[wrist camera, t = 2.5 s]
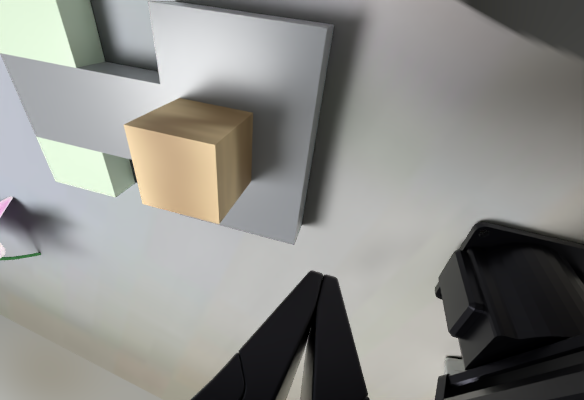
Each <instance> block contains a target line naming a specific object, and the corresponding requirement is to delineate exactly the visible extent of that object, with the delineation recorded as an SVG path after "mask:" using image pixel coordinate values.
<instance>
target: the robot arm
mask: <svg viewBox="0 0 584 400" xmlns="http://www.w3.org/2000/svg"><path fill="white" fill-rule="evenodd" d="M482 230H487V231H486V232H483V233H481V232H480V231H482ZM435 294H436V297H438V298H439V299H442V300H443V305H444V310H445V316H446V321H447V326H448V331H449V333H450V334H451V336H453V337H456V338H458V340H459V345H460V350H461V354H462V359H463V364H464V369H465V371H462V372H459V373H455V374H452V375H450V374H445V375H442V376H439V378H438V383H437V389H436V396H435V400H584V245H582V244H578V243H574V242H569V241H565V240H561V239H556V238H552V237H548V236H543V235H539V234H535V233H530V232H526V231H522V230H517V229H513V228H509V227H504V226H500V225H496V224H491V223H487V222H480V223H477V224H475V225H474V226H473V228H472V229H471V231H470V232H469V234H468V236H467V237H466V239H465V241H464V242H463V244H462V245H461V247H460V249H458V250H456V251H455V252H454V253H453V255H452V256H451V258H450V259H449V261H448V263H447V264H446V266H445V268H444V269H443V271H442V273H441V274H440V276H439V282H438V284H437V286H436V287H435ZM309 332H310V333H309ZM308 336H309V337H308ZM307 340H308V342H307ZM306 343H307V347H306V354H305V363H304V371H303V380H302V388H301V397H300V400H370V399H369V397H367V395H368V392H367V389H366V385H365V381H364V377H363V373H362V370H361V366H360V362H359V358H358V355H357V351H356V347H355V343H354V339H353V336H352V332H351V328H350V324H349V320H348V317H347V313H346V309H345V305H344V301H343V298H342V294H341V290H340V286H339V283H338V279H337V278H336V277H333V276H330V275H324V276H323V274H322V273H319V272H316V271H310V272H309V273H308V274H307V275H306V276H305V277H304V278H303V279H302V280H301V282H300V283H299V284H298V285H297V286H296V287H295V288H294V289H293V290H292V292H291V293H290V294H289V295H288V296H287V297H286V298H285V299H284V301H283V302H282V303H281V304H280V305H279V306H278V307H277V308H276V310H275V311H274V312H273V313H272V314H271V315H270V316H269V317H268V318H267V320H266V321H265V322H264V323H263V324H262V325H261V326H260V327H259V329H258V330H257V331H256V332H255V333H254V334H253V335H252V336H251V338H250V339H249V340H248V341H247V342H246V343H245V344H244V345H243V347H242V348H241V349H240V350H239V353H236V354H235V355H234V356H233V357H232V359H231V360H230V361H229V362H228V363H227V364H226V365H225V366H224V367H223V368H222V369H221V371H220V372H219V373H218V374H217V375H216V376H215V377H214V378H213V379H212V380H211V381H210V382H209V383H208V384H207V385H206V386H205V387H204V388H202V389H201V390H200V391H199V392H198V393H197V394H196V395H195V396H194V397H193V398H192V399H191V400H286V398H287V395H288V393H289V390H290V387H291V385H292V382H293V379H294V376H295V374H296V371H297V368H298V366H299V363H300V360H301V358H302V355H303V352H304V349H305V346H306Z"/></svg>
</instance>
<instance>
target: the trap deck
mask: <svg viewBox="0 0 584 400" xmlns="http://www.w3.org/2000/svg"><path fill="white" fill-rule="evenodd" d="M148 6H149V13H150V19H151V26H152V32H153V39H154V46H155V52H156V59H157V65H158V71H152V70H147V69H142V68H136V67H131V66H126V65H121V64H115V63H110V62H105V59H104V55H103V51H102V47H101V43H100V39H99V35H98V31H97V27H96V23H95V19H94V15H93V11H92V7H91V3H90V0H0V54H1V57H2V59H3V61H4V64H5V66H6V68H7V70H8V73H9V75H10V77H11V80H12V82H13V84H14V87H15V89H16V91H17V93H18V96H19V98H20V100H21V103H22V105H23V107H24V110H25V112H26V114H27V116H28V119H29V121H30V123H31V126H32V128H33V130H34V133H35V135H36V137H37V139H38V142H39V144H40V146H41V149H42V151H43V153H44V156H45V158H46V160H47V162H48V165H49V167H50V169H51V172H52V174H53V176H54V179H55V181H56V182H60V183H63V184H67V185H71V186H75V187H78V188H82V189H86V190H90V191H93V192H97V193H101V194H105V195H108V196H112V197H117V196H118V195H120V194H121V193H122V192H124V191H125V190H127V189H128V188H129V187H131V186H132V185H133V184H135V180H134V176H133V172H132V168H131V164H130V160H129V159H131V160H132V158H131V154H130V149H129V145H128V141H127V137H126V133H125V129H124V124H126V123H128V122H130V121H132V120H134V119H136V118H138V117H140V116H143V115H145V114H147V113H149V112H151V111H153V110H155V109H157V108H159V107H161V106H164V105H166V104H168V103H170V102H172V101H174V100H176V99H178V98H182V99H187V100H192V101H197V102H202V103H207V104H212V105H217V106H222V107H227V108H232V109H237V110H242V111H247V112H252V113H253V134H252V170H251V182H250V184H249V185H248V186H247V188H246V189H245V190H244V192H243V193H242V194H241V196H240V197H239V198H238V200H237V201H236V202H235V204H234V205H233V207H232V208H231V209H230V211H229V212H228V213H227V215H226V216H225V217H224V219H223V220H222V221H221V223H220V224H217V223H214V224H217V225H221V226H225V227H229V228H232V229H236V230H240V231H244V232H247V233H251V234H255V235H259V236H262V237H266V238H270V239H274V240H277V241H281V242H285V243H289V244H292V245H294V244H295V241H296V239H297V236H298V233H299V231H300V228H301V225H302V219H303V213H304V207H305V201H306V194H307V188H308V182H309V176H310V170H311V164H312V158H313V152H314V146H315V140H316V133H317V127H318V121H319V115H320V109H321V103H322V97H323V91H324V85H325V79H326V72H327V66H328V60H329V54H330V48H331V42H332V36H333V30H334V25H333V24H326V23H320V22H313V21H306V20H299V19H292V18H286V17H279V16H272V15H265V14H258V13H252V12H245V11H238V10H231V9H224V8H217V7H211V6H204V5H197V4H190V3H183V2H177V1H148ZM180 215H183V214H180ZM184 216H186V215H184ZM187 217H190V216H187ZM191 218H194V217H191ZM195 219H198V218H195ZM199 220H202V219H199ZM202 221H205V220H202ZM206 222H209V221H206ZM210 223H213V222H210Z"/></svg>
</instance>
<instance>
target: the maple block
mask: <svg viewBox="0 0 584 400" xmlns="http://www.w3.org/2000/svg"><path fill="white" fill-rule="evenodd" d="M124 129H125V133H126V137H127V141H128V145H129V149H130V154H131V158H132V162H133V166H134V170H135V174H136V178H137V182H138V187H139V191H140V195H141V199H142V203H143V204H145V205H149V206H153V207H156V208H160V209H164V210H168V211H171V212H175V213H179V214H183V215H186V216H190V217H194V218H198V219H202V220H205V221H209V222H213V223H217V224H220V223H221V221H222V220H223V219H224V217H225V216H226V215H227V213H228V212H229V211H230V209H231V208H232V207H233V205H234V204H235V202H236V201H237V200H238V198H239V197H240V196H241V194H242V193H243V192H244V190H245V189H246V188H247V186H248V185H249V184H250V182H251V170H252V134H253V113H252V112H247V111H242V110H237V109H232V108H227V107H222V106H217V105H212V104H207V103H202V102H197V101H192V100H187V99H182V98H178V99H176V100H174V101H172V102H170V103H168V104H166V105H164V106H161V107H159V108H157V109H155V110H153V111H151V112H149V113H147V114H145V115H143V116H140V117H138V118H136V119H134V120H132V121H130V122H128V123H126V124H124Z"/></svg>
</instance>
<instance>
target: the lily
mask: <svg viewBox="0 0 584 400" xmlns="http://www.w3.org/2000/svg"><path fill="white" fill-rule="evenodd" d="M12 198H13V197H8V198H6V199H4V200H2V201H0V217H1V216H2V214H3V212H4V211H5V209H6V208H7V206H8V205H9V203H10V202H11V200H12ZM4 255H5V248H4V247H3V245H2V244H1V243H0V260H14V259H20V258H27V257H32V256H37V255H41V253H34V254H28V255H22V256H16V257H3V256H4Z"/></svg>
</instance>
